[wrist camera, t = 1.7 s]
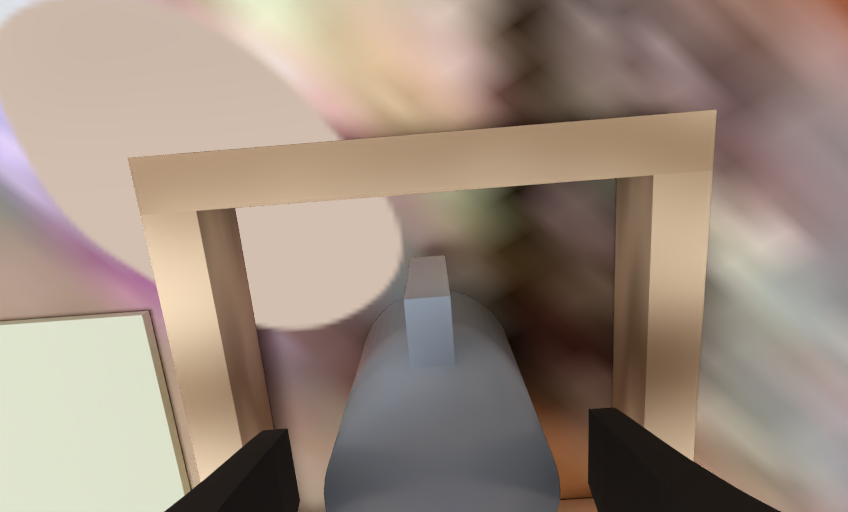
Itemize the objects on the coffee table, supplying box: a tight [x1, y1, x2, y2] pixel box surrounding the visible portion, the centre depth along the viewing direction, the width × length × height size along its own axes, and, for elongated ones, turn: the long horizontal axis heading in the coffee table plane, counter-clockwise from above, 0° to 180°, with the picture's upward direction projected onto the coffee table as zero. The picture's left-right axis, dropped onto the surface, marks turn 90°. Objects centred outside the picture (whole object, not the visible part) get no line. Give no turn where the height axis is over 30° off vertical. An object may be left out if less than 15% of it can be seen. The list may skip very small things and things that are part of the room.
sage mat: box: [0, 311, 191, 512], centre depth 17 cm, size 11×11×1 cm
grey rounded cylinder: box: [324, 255, 560, 512], centre depth 13 cm, size 7×5×6 cm
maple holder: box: [128, 110, 717, 512], centre depth 15 cm, size 15×15×2 cm
